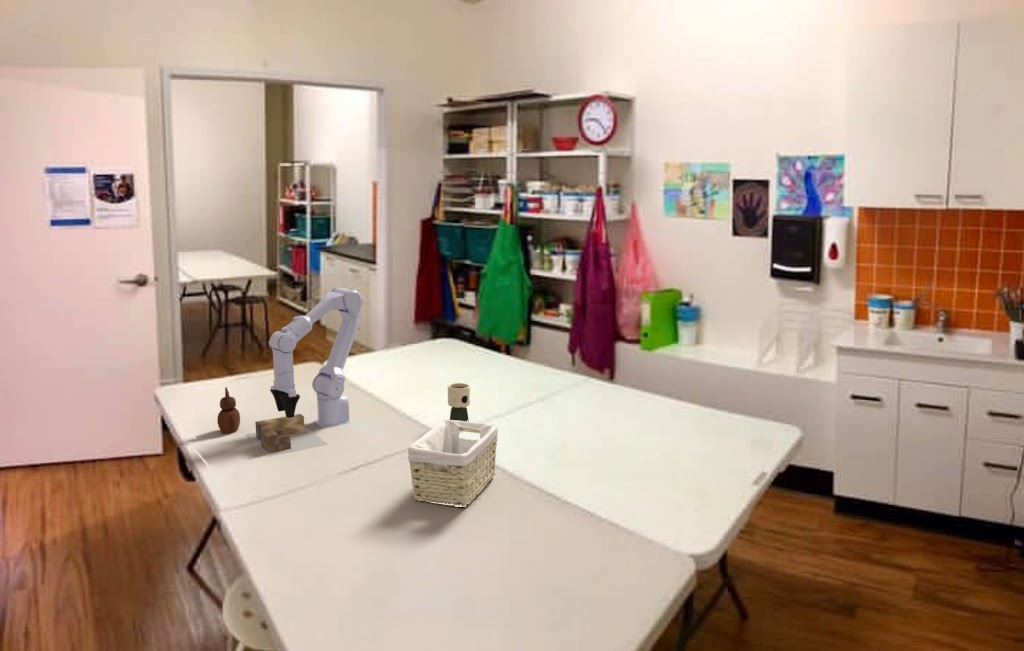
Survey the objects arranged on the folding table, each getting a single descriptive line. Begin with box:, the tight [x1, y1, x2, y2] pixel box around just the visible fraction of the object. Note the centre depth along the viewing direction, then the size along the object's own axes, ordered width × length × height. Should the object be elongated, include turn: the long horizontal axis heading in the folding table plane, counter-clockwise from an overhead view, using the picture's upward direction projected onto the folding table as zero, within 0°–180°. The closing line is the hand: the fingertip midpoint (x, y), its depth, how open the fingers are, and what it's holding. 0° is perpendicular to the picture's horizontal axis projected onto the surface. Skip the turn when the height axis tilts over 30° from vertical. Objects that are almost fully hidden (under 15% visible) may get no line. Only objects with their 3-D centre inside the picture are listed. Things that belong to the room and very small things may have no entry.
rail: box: [254, 413, 305, 440], centre depth 242 cm, size 14×3×5 cm, turn 125°
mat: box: [245, 425, 329, 457], centre depth 239 cm, size 18×22×1 cm
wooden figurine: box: [216, 386, 241, 435], centre depth 244 cm, size 7×6×15 cm
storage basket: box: [407, 419, 499, 506], centre depth 203 cm, size 24×16×15 cm
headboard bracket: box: [260, 428, 291, 453], centre depth 231 cm, size 6×7×5 cm
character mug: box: [447, 382, 471, 422], centre depth 253 cm, size 11×7×13 cm, turn 157°
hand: (285, 414), depth 242 cm, fingers open, 7 cm apart
